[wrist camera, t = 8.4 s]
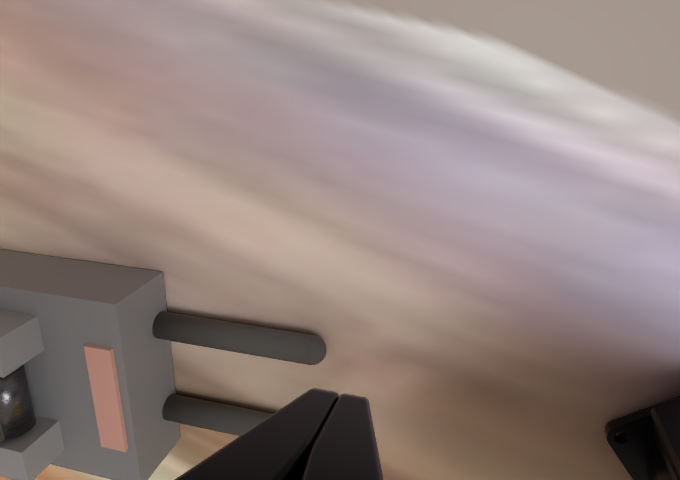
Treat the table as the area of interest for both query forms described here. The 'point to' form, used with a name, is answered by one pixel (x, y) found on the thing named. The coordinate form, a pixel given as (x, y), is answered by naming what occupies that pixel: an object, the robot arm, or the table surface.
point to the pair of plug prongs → (235, 340)
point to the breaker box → (86, 366)
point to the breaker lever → (15, 405)
